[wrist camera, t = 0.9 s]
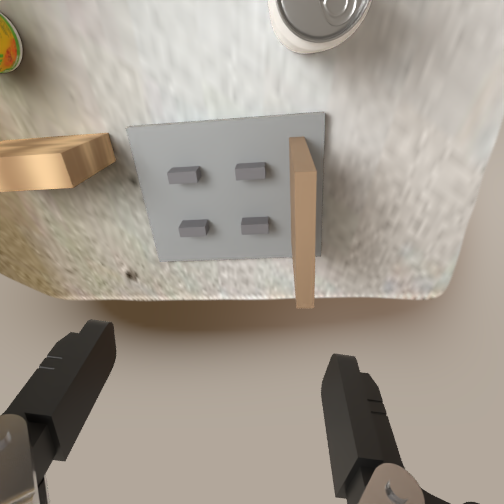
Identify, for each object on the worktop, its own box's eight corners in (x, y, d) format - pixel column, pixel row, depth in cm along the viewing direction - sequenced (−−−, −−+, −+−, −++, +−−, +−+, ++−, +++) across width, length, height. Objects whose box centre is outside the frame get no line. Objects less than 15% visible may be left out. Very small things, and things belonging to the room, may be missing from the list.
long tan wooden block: (19, 175, 39) (-46, 205, 31) (4, 140, 37) (-70, 161, 29) (118, 169, 37) (77, 198, 30) (108, 132, 35) (60, 153, 28)
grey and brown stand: (162, 256, 43) (120, 328, 31) (130, 126, 35) (59, 158, 23) (319, 251, 41) (336, 325, 29) (323, 111, 33) (348, 138, 22)
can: (306, 70, 31) (321, 75, 21) (254, 16, 29) (243, -8, 19) (360, 6, 29) (408, -25, 18) (307, -59, 27) (327, -134, 16)
